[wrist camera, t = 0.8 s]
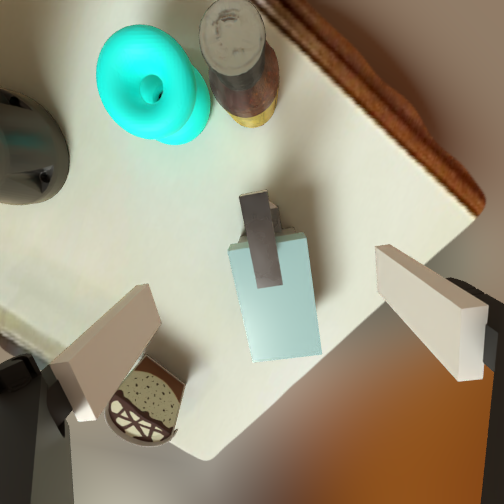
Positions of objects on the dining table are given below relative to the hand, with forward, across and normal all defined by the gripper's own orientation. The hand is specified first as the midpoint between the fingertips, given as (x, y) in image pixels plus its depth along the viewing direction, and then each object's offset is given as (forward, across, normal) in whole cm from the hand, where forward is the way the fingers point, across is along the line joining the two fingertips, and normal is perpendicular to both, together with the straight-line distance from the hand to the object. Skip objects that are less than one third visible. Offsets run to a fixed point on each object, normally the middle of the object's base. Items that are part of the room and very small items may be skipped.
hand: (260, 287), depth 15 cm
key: (+23, 0, 0) cm, 23 cm away
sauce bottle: (+25, +1, +14) cm, 29 cm away
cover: (+20, 0, -10) cm, 22 cm away
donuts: (+25, -9, +16) cm, 31 cm away
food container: (+25, -25, -26) cm, 44 cm away
